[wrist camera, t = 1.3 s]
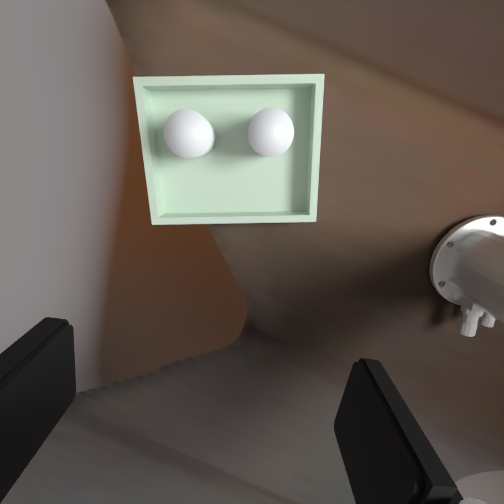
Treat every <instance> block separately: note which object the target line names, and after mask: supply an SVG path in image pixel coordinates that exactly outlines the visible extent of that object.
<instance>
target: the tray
mask: <svg viewBox="0 0 504 504" xmlns="http://www.w3.org/2000/svg"><path fill="white" fill-rule="evenodd" d="M133 83H134V90H135V98H136V105H137V114H138V121H139V129H140V136H141V144H142V152H143V159H144V167H145V175H146V183H147V190H148V197H149V206H150V214H151V221H152V225H163V224H164V225H165V224H166V225H167V224H222V223H278V222H316V214H317V197H318V179H319V161H320V143H321V125H322V108H323V90H324V74H291V75H228V76H164V77H133ZM269 107H274V108H278V109H281V110H283V111H284V112H285V113H286V114H288V116H289V117H290V119H291V120H292V123H293V127H294V137H293V140H292V143H291V145H290V146H289V148H288V149H287V150H286V151H285V152H284V153H282V154H281V155H278V156H275V157H266V156H263V155H260V154H258V153H256V152H255V151H254V150H253V149H252V147H251V146H250V143H249V140H248V127H249V124H250V121H251V119H252V118H253V116H254V115H255V114H256V113H257V112H259V111H260V110H262V109H264V108H269ZM180 109H191V110H194V111H196V112H198V113H199V114H201V115H202V116H203V117H205V118H206V119H207V120H208V121H210V123H211V124H212V125H213V127H214V129H215V132H216V143H215V146H214V148H213V150H212V151H211V152H210V153H209V154H207V155H205V156H203V157H197V158H182V157H180V156H177V155H176V154H174V153H173V152H172V151H171V150H170V149H169V147H168V146H167V144H166V141H165V138H164V125H165V122H166V120H167V119H168V117H169V116H170V115H171V114H172V113H173V112H175V111H177V110H180Z"/></svg>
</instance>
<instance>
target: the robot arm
mask: <svg viewBox="0 0 504 504" xmlns="http://www.w3.org/2000/svg"><path fill="white" fill-rule="evenodd" d="M429 271H430V279H431V281H432V284H433V286H434V288H435V289H436V291H437V292H438V293H439V294H440V295H441V296H443V297H444V298H445V299H447V300H448V301H450V302H452V303H455V304H457V305H461V309H460V310H461V311H462V312H463V315H462V318H461V319H460V323H459V327H458V332H459V333H461V334H463V335H465V336H470V337H473V336H475V333H476V329H477V325H478V318H479V317H480V316H482V320H481V324H482V325H484V326H486V327H493V325H494V322H495V319H497V320H498V321H500V322H501V323H503V324H504V217H502V216H498V215H482V216H476V217H473V218H470V219H467V220H465V221H464V222H462V223H460V224H458V225H457V226H455V227H454V228H452V229H451V230H450V231H449V232H448V233H447V234H446V235H445V236H444V237H443V238H442V239H441V241H440V242H439V243H438V245H437V246H436V248H435V250H434V252H433V254H432V258H431V261H430V269H429ZM75 380H76V379H75V356H74V333H73V326H72V325H69V323H68V321H67V320H66V319H58V318H51V317H46V318H44V319H43V320H42V321H40V322H39V323H38V324H37V325H35V326H34V327H33V328H32V329H31V330H29V331H28V332H27V333H26V334H24V335H23V336H22V337H21V338H19V339H18V340H17V341H16V342H14V343H13V344H12V345H11V346H10V347H8V348H7V349H6V350H5V351H3V352H2V353H1V354H0V503H1V502H2V500H3V499H4V497H5V496H6V495H7V493H8V492H9V490H10V489H11V488H12V486H13V485H14V483H15V482H16V480H17V479H18V478H19V476H20V475H21V473H22V472H23V471H24V469H25V468H26V466H27V465H28V464H29V462H30V461H31V459H32V458H33V457H34V455H35V454H36V452H37V451H38V449H39V448H40V447H41V445H42V444H43V442H44V441H45V440H46V438H47V437H48V435H49V434H50V433H51V431H52V430H53V428H54V427H55V425H56V424H57V423H58V421H59V420H60V418H61V417H62V416H63V414H64V413H65V411H66V410H67V409H68V407H69V406H70V404H71V403H72V401H73V399H74V397H75V393H76V381H75ZM334 431H335V435H336V438H337V442H338V445H339V448H340V452H341V455H342V458H343V462H344V465H345V469H346V472H347V475H348V479H349V482H350V485H351V489H352V492H353V495H354V499H355V502H356V504H487V503H485V502H482V501H479V500H476V499H463V498H462V496H461V494H460V492H459V491H458V489H457V486H456V485H455V483H454V481H453V480H452V478H451V476H450V475H449V473H448V472H447V470H446V468H445V467H444V465H443V463H442V462H441V460H440V458H439V457H438V455H437V454H436V452H435V450H434V449H433V447H432V445H431V444H430V442H429V441H428V439H427V437H426V436H425V434H424V432H423V431H422V429H421V428H420V426H419V424H418V423H417V421H416V419H415V418H414V416H413V415H412V413H411V411H410V410H409V408H408V406H407V405H406V403H405V402H404V400H403V398H402V397H401V395H400V393H399V392H398V390H397V389H396V387H395V385H394V384H393V382H392V380H391V379H390V377H389V376H388V374H387V372H386V371H385V369H384V367H383V366H382V364H381V363H380V362H379V361H378V360H372V359H364V358H361V359H360V360H359V361H358V362H355V363H354V364H353V366H352V369H351V372H350V375H349V378H348V381H347V385H346V388H345V391H344V394H343V397H342V400H341V403H340V406H339V409H338V412H337V415H336V418H335V421H334Z"/></svg>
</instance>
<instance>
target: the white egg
mask: <svg viewBox="0 0 504 504" xmlns="http://www.w3.org/2000/svg"><path fill="white" fill-rule="evenodd" d="M164 138H165V141H166V144H167V146H168V147H169V149H170V150H171V151H172V152H173V153H174V154H176V155H177V156H180V157H182V158H197V157H203V156H205V155H207V154H209V153H210V152H211V151H212V150H213V148H214V146H215V143H216V132H215V129H214V127H213V125H212V124H211V123H210V121H208V120H207V119H206V118H205V117H203V116H202V115H201V114H199V113H198V112H196V111H194V110H191V109H180V110H177V111H175V112H173V113H172V114H171V115H170V116H169V117H168V119H167V120H166V122H165V125H164Z"/></svg>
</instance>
